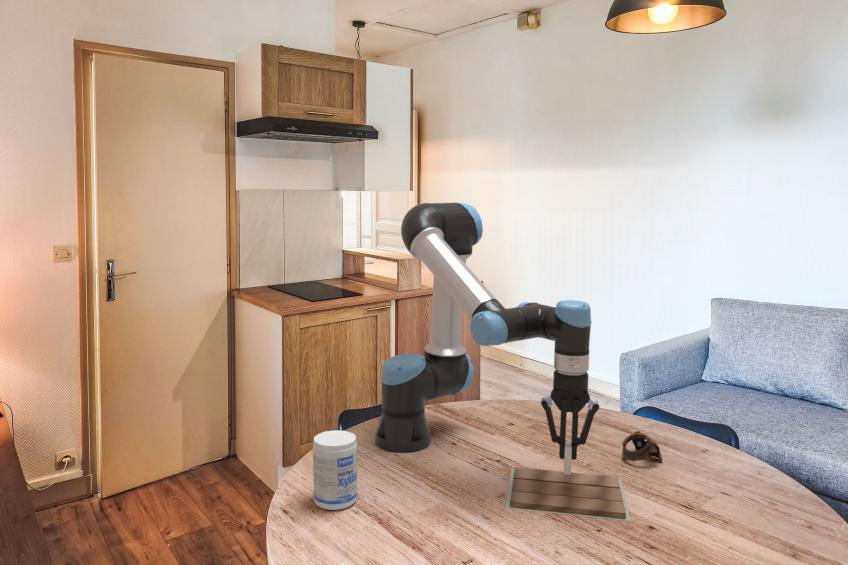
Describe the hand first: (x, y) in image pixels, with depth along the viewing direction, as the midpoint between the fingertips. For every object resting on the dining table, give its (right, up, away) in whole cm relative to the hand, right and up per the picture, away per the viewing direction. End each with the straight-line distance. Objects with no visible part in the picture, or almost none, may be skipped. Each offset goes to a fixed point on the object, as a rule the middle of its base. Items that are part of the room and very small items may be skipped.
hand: (567, 471), depth 146 cm
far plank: (+1, -4, +6) cm, 7 cm away
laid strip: (-2, -6, -6) cm, 9 cm away
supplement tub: (-52, -6, -3) cm, 52 cm away
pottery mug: (+23, -3, +20) cm, 31 cm away
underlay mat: (0, -5, 0) cm, 5 cm away
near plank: (0, -5, -1) cm, 5 cm away
